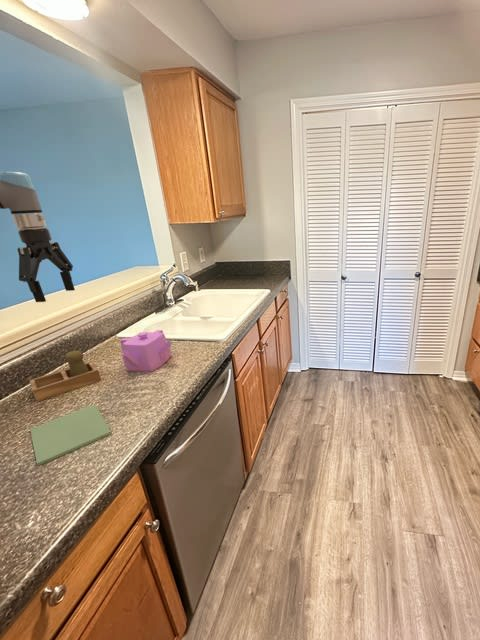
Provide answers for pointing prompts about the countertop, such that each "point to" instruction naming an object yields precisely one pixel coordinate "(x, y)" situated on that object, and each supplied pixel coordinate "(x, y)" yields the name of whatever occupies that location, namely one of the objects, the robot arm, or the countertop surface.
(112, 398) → the countertop surface
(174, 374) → the countertop surface
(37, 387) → the box
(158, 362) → the purple knobbed polyhedron
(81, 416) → the drying mat
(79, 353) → the cork
